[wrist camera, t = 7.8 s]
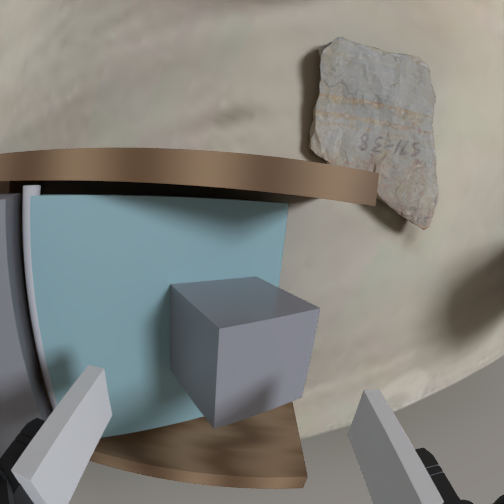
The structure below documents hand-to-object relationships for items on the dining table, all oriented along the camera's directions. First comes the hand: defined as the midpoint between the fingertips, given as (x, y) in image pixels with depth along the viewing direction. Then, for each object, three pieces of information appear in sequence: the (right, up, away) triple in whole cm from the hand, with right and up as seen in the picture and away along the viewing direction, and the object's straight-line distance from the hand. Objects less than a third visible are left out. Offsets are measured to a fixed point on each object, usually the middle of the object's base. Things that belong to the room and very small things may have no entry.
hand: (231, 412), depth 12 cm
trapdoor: (-9, +2, +7) cm, 11 cm away
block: (-2, +2, +8) cm, 9 cm away
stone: (+11, +17, +10) cm, 23 cm away
